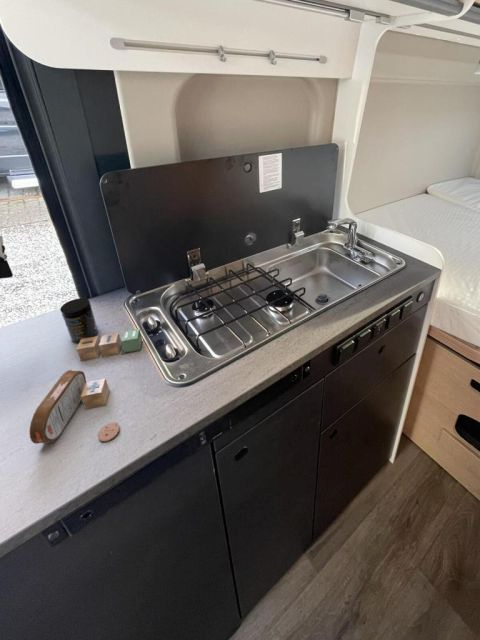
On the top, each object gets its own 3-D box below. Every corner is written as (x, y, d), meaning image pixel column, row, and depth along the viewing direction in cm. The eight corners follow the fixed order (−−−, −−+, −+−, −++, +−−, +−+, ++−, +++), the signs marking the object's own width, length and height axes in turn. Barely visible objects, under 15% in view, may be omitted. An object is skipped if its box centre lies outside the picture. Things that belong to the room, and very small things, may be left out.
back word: (80, 362, 84) (75, 350, 82) (85, 349, 88) (81, 337, 86) (141, 351, 87) (138, 339, 86) (143, 339, 92) (140, 327, 90)
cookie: (119, 420, 69) (118, 417, 69) (120, 437, 66) (119, 433, 65) (98, 428, 67) (97, 425, 67) (98, 445, 64) (96, 442, 64)
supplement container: (100, 337, 92) (90, 307, 87) (71, 347, 88) (60, 316, 84) (97, 324, 97) (88, 295, 92) (70, 333, 93) (60, 303, 89)
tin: (79, 388, 76) (68, 361, 73) (92, 388, 76) (83, 361, 73) (35, 453, 63) (20, 424, 59) (53, 452, 63) (39, 423, 59)
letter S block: (124, 352, 87) (120, 340, 85) (126, 342, 90) (123, 330, 88) (140, 349, 88) (137, 337, 86) (142, 339, 91) (139, 328, 89)
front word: (85, 409, 71) (80, 396, 70) (90, 394, 75) (85, 381, 73) (105, 405, 72) (101, 392, 71) (109, 390, 76) (105, 377, 74)
